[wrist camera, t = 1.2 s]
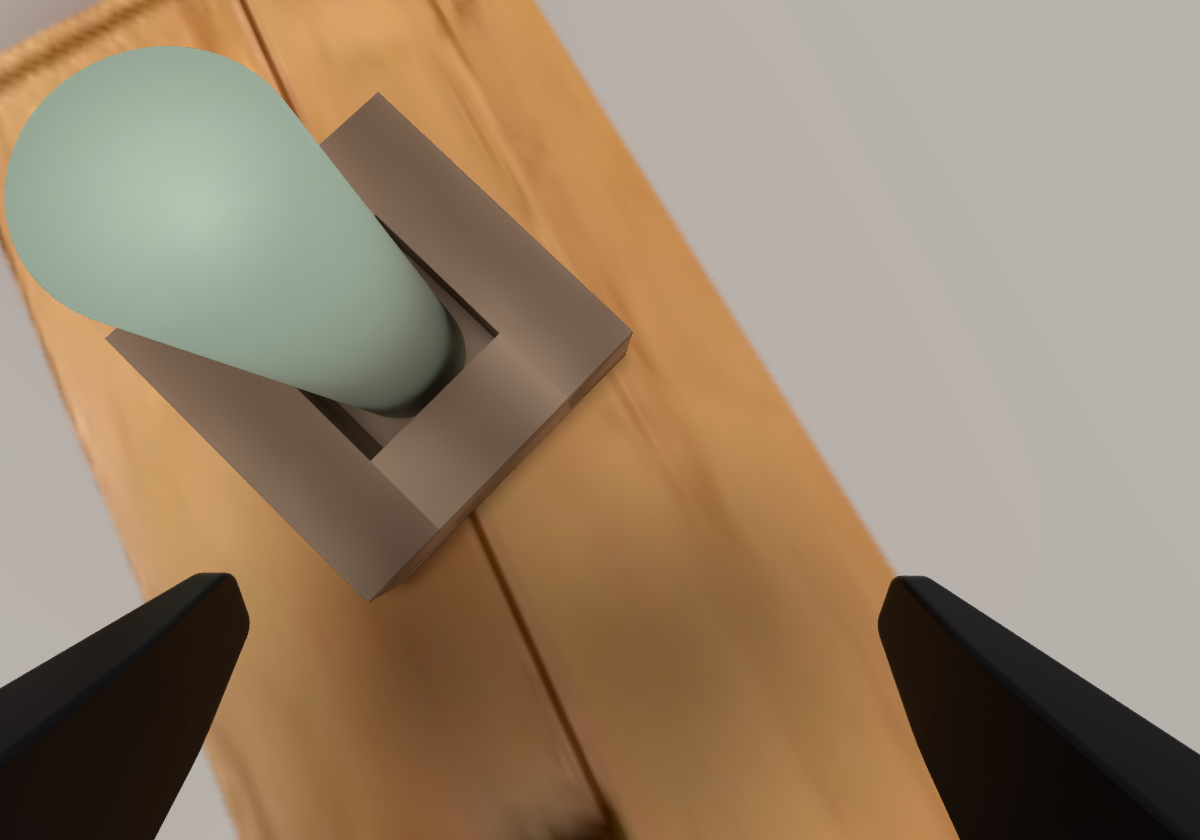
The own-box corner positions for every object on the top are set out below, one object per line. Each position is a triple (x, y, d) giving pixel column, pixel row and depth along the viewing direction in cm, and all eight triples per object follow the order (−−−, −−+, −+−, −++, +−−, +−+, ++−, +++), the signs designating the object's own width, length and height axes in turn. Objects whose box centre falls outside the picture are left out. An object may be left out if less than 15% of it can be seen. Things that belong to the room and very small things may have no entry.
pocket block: (402, 583, 21) (367, 603, 18) (180, 361, 22) (104, 338, 18) (625, 355, 22) (632, 331, 19) (408, 150, 23) (378, 91, 20)
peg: (400, 445, 21) (145, 392, 9) (310, 356, 22) (-60, 184, 9) (492, 354, 22) (372, 182, 9) (403, 268, 22) (171, -9, 10)
